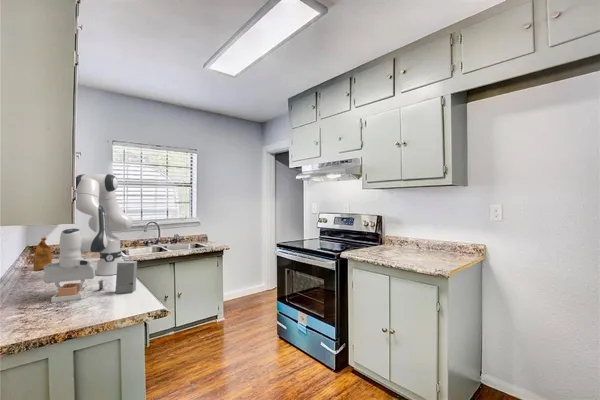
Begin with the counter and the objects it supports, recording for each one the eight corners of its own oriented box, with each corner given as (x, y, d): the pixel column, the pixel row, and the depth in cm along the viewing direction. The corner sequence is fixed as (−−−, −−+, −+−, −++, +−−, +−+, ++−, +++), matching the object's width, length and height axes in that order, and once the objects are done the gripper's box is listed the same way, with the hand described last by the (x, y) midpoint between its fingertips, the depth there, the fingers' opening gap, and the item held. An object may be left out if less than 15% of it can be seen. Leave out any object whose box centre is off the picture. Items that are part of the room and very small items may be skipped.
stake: (98, 289, 160) (98, 280, 160) (104, 289, 161) (104, 280, 161) (96, 291, 156) (96, 282, 156) (103, 291, 157) (103, 281, 157)
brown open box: (75, 295, 144) (75, 287, 144) (58, 296, 141) (58, 289, 141) (81, 288, 155) (81, 281, 155) (66, 289, 152) (66, 282, 153)
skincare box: (115, 294, 152) (115, 263, 153) (119, 290, 159) (119, 260, 159) (133, 292, 155) (133, 262, 155) (137, 289, 161) (137, 259, 162)
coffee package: (53, 266, 218) (53, 236, 218) (50, 269, 207) (51, 238, 208) (35, 268, 212) (35, 237, 212) (31, 271, 202) (32, 239, 202)
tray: (60, 293, 153) (60, 289, 153) (87, 290, 158) (87, 286, 158) (51, 302, 139) (51, 298, 139) (81, 299, 144) (81, 294, 144)
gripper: (41, 264, 140) (41, 294, 140) (93, 261, 149) (93, 288, 149) (45, 262, 146) (45, 290, 146) (95, 259, 155) (95, 285, 155)
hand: (70, 289), depth 147 cm, fingers closed on brown open box, 6 cm apart
